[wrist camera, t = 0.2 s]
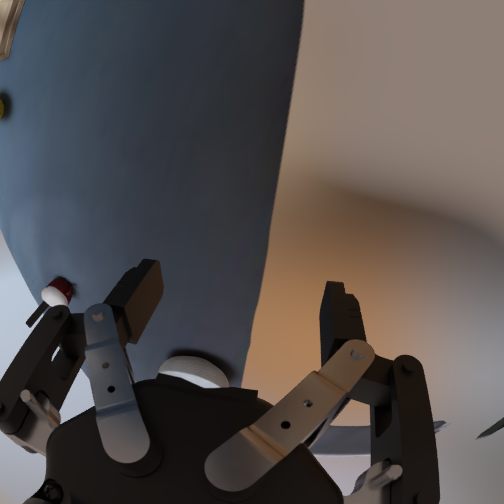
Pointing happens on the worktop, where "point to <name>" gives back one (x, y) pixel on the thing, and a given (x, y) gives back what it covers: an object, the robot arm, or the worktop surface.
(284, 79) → the worktop surface
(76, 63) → the worktop surface
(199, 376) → the cereal bowl
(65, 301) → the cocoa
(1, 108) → the lemon
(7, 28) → the roll holder
